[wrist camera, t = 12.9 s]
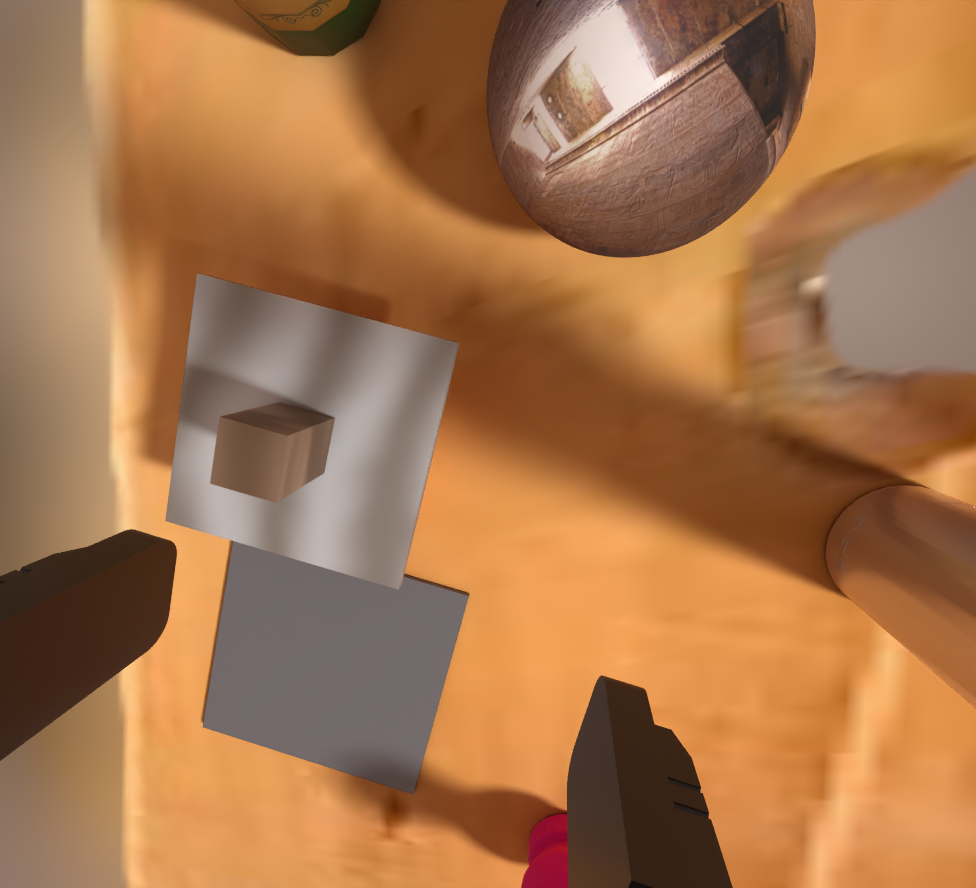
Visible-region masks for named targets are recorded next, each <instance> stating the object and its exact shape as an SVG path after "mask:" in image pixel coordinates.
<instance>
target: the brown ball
mask: <svg viewBox="0 0 976 888" xmlns="http://www.w3.org/2000/svg"><path fill="white" fill-rule="evenodd" d="M815 38H816V30H815V14H814V7H813V0H508V2H507V4H506V6H505V9H504V11H503V14H502V16H501V19H500V22H499V25H498V28H497V31H496V35H495V39H494V42H493V47H492V51H491V56H490V62H489V69H488V79H487V115H488V124H489V131H490V136H491V141H492V145H493V149H494V153H495V156H496V159H497V162H498V165H499V167H500V170H501V172H502V175H503V177H504V179H505V181H506V183H507V185H508V187H509V189H510V190H511V192H512V194H513V195H514V197H515V198H516V200H517V201H518V202H519V204H520V205H521V206H522V208H523V209H524V210H525V211H526V213H527V214H528V215H529V216H530V217H531V218H532V219H533V220H534V221H535V222H536V223H537V224H538V225H539V226H541V227H542V228H543V229H544V230H545V231H547V232H548V233H549V234H551V235H552V236H554V237H555V238H557V239H559V240H560V241H562V242H564V243H566V244H568V245H570V246H572V247H574V248H577V249H579V250H582V251H585V252H589V253H592V254H597V255H602V256H608V257H625V258H626V257H641V256H648V255H654V254H658V253H662V252H666V251H669V250H672V249H675V248H678V247H680V246H683V245H685V244H688V243H690V242H692V241H694V240H696V239H698V238H700V237H702V236H703V235H705V234H707V233H708V232H710V231H712V230H713V229H715V228H716V227H718V226H719V225H720V224H722V223H723V222H724V221H726V220H727V219H728V218H730V217H731V216H732V215H733V214H734V213H736V212H737V211H738V210H739V209H740V208H741V207H742V206H743V205H744V204H745V203H746V202H747V201H748V200H749V199H750V198H751V197H752V196H753V195H754V194H755V193H756V192H757V190H758V189H759V188H760V187H761V186H762V184H763V183H764V182H765V181H766V179H767V178H768V177H769V175H770V174H771V172H772V171H773V170H774V168H775V167H776V165H777V163H778V162H779V160H780V159H781V157H782V155H783V154H784V152H785V150H786V148H787V146H788V144H789V142H790V140H791V138H792V136H793V134H794V132H795V130H796V127H797V125H798V123H799V120H800V117H801V115H802V112H803V109H804V106H805V102H806V99H807V96H808V92H809V87H810V83H811V78H812V72H813V66H814V57H815Z"/></svg>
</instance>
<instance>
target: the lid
mask: <svg viewBox="0 0 976 888" xmlns="http://www.w3.org/2000/svg"><path fill="white" fill-rule="evenodd" d="M459 345H460V343H458V342H455V341H451V340H447V339H443V338H440V337H436V336H432V335H429V334H425V333H421V332H417V331H414V330H410V329H406V328H402V327H399V326H395V325H391V324H387V323H384V322H380V321H376V320H373V319H369V318H365V317H361V316H358V315H354V314H350V313H346V312H343V311H339V310H335V309H331V308H328V307H324V306H320V305H317V304H313V303H309V302H305V301H302V300H298V299H294V298H290V297H287V296H283V295H279V294H275V293H272V292H268V291H264V290H261V289H257V288H253V287H249V286H246V285H242V284H238V283H234V282H231V281H227V280H223V279H219V278H216V277H212V276H208V275H204V274H198V273H197V277H196V285H195V293H194V301H193V309H192V317H191V324H190V332H189V340H188V348H187V356H186V364H185V372H184V379H183V387H182V395H181V403H180V411H179V419H178V427H177V435H176V442H175V450H174V458H173V466H172V474H171V482H170V490H169V497H168V505H167V513H166V521H167V522H171V523H174V524H178V525H181V526H184V527H188V528H191V529H194V530H198V531H201V532H205V533H208V534H211V535H215V536H218V537H222V538H225V539H228V540H232V541H235V542H239V543H242V544H245V545H249V546H252V547H255V548H259V549H262V550H266V551H269V552H272V553H276V554H279V555H283V556H286V557H289V558H293V559H296V560H299V561H303V562H306V563H310V564H313V565H316V566H320V567H323V568H327V569H330V570H333V571H337V572H340V573H344V574H347V575H350V576H354V577H357V578H360V579H364V580H367V581H371V582H374V583H377V584H381V585H384V586H388V587H391V588H394V589H398V590H399V588H400V586H401V584H402V581H403V577H404V573H405V569H406V564H407V560H408V556H409V552H410V548H411V544H412V540H413V535H414V531H415V527H416V523H417V519H418V515H419V511H420V506H421V502H422V498H423V494H424V490H425V486H426V482H427V478H428V473H429V469H430V465H431V461H432V457H433V453H434V449H435V444H436V440H437V436H438V432H439V428H440V424H441V420H442V415H443V411H444V407H445V403H446V399H447V395H448V391H449V386H450V382H451V378H452V374H453V370H454V366H455V362H456V358H457V353H458V349H459Z"/></svg>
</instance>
